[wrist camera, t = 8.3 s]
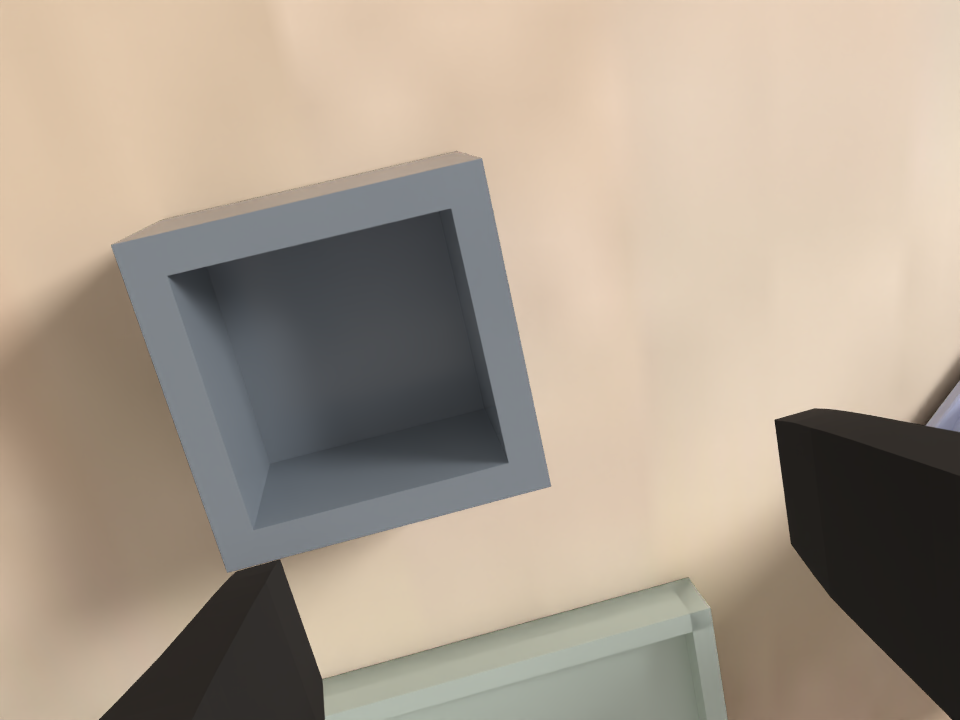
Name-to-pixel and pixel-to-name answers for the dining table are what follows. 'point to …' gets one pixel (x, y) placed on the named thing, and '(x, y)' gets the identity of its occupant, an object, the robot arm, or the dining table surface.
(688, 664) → the tray
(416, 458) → the grey square socket
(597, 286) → the dining table surface
